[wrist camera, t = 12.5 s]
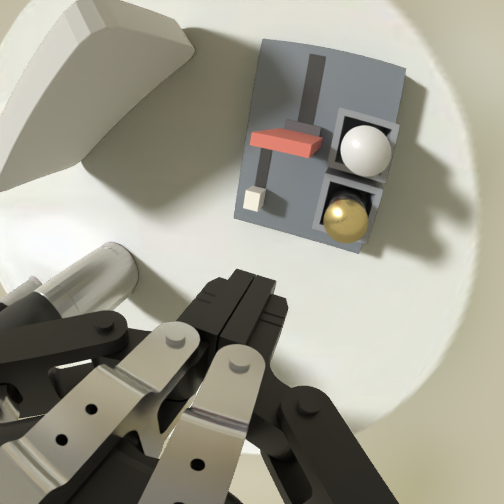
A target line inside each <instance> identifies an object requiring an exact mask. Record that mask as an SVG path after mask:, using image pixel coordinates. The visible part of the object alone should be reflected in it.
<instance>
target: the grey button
mask: <svg viewBox="0 0 504 504" xmlns="http://www.w3.org/2000/svg"><path fill="white" fill-rule="evenodd" d="M341 156H342V159H343V161H344V163H345V165H346V166H347V167H348V168H349V169H350V170H351V171H352V172H354V173H355V174H357V175H360V176H366V177H369V176H375V175H377V174H379V173H381V172H382V171H383V170H385V168H386V167H387V166H388V164H389V162H390V159H391V146H390V143H389V141H388V139H387V137H386V136H385V135H384V134H383V133H382V132H381V131H380V130H378V129H376V128H374V127H371V126H357V127H355V128H353V129H351V130H350V131H349V132H347V134H346V135H345V136H344V138H343V140H342V143H341Z"/></svg>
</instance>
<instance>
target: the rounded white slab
mask: <svg viewBox="0 0 504 504" xmlns="http://www.w3.org/2000/svg"><path fill="white" fill-rule="evenodd" d="M194 52H195V49H194V47H193V46H192V44H191V43H190V41H189V40H188V38H187V37H186V35H185V34H184V32H183V31H182V29H181V28H180V26H179V25H178V23H177V22H176V21H175V20H174V19H172V18H169V17H167V16H164V15H162V14H159V13H156V12H153V11H151V10H148V9H145V8H142V7H139V6H136V5H133V4H130V3H127V2H124V1H120V0H78V1H75V2H74V3H73V4H72V5H71V6H70V7H68V8H67V9H66V10H65V11H64V12H63V13H62V15H61V16H60V17H59V19H58V20H57V21H56V23H55V24H54V25H53V27H52V28H51V30H50V31H49V32H48V34H47V35H46V37H45V38H44V40H43V41H42V43H41V44H40V46H39V47H38V49H37V50H36V52H35V53H34V55H33V56H32V58H31V60H30V61H29V63H28V65H27V66H26V68H25V70H24V71H23V73H22V75H21V77H20V79H19V80H18V82H17V84H16V86H15V88H14V90H13V92H12V94H11V95H10V97H9V99H8V101H7V104H6V106H5V108H4V110H3V112H2V114H1V116H0V192H2V191H6V190H9V189H11V188H14V187H16V186H19V185H21V184H24V183H27V182H29V181H32V180H35V179H38V178H40V177H43V176H46V175H49V174H52V173H55V172H58V171H61V170H64V169H67V168H70V167H72V166H74V165H76V164H77V163H79V162H80V161H82V160H83V159H84V158H85V157H86V156H87V155H88V154H89V153H90V151H91V150H92V149H93V148H94V147H95V146H96V145H97V144H98V143H99V142H100V141H101V139H102V138H103V137H104V136H105V135H106V134H107V133H108V132H109V131H110V130H111V129H112V128H113V127H114V126H115V125H116V124H117V123H118V122H119V121H120V120H121V119H122V118H123V117H124V116H125V115H126V114H127V113H128V112H129V111H130V110H131V109H132V108H133V107H135V106H136V105H137V104H138V103H139V102H140V101H141V100H142V99H143V98H144V97H145V96H147V95H148V94H149V93H150V92H151V91H152V90H153V89H155V88H156V87H157V86H158V85H159V84H160V83H162V82H163V81H164V80H165V79H166V78H168V77H169V76H170V75H171V74H172V73H174V72H175V71H176V70H177V69H179V68H180V67H181V66H182V65H184V64H185V63H186V62H187V61H188V60H189V59H190V58H191V57H192V56H193V54H194Z"/></svg>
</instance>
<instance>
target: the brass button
mask: <svg viewBox="0 0 504 504" xmlns="http://www.w3.org/2000/svg"><path fill="white" fill-rule="evenodd" d="M367 227H368V216H367V213H366V209H365V202H364V198H363V196H362V195H361V194H360V193H359V192H358V191H357V190H355V189H353V188H348V187H345V188H341V189H338V190H337V191H336V192H334V194H333V195H332V197H331V199H330V202H329V206H328V208H327V210H326V212H325V215H324V228H325V230H326V232H327V234H328V235H329V236H330V237H331V238H332V239H334V240H335V241H337V242H340V243H353V242H356V241H358V240H359V239H360V238H362V237H363V235H364V234H365V232H366V230H367Z"/></svg>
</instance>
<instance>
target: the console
mask: <svg viewBox="0 0 504 504" xmlns="http://www.w3.org/2000/svg"><path fill="white" fill-rule="evenodd" d="M405 73H406V68H403V67H400V66H397V65H394V64H390V63H387V62H384V61H380V60H377V59H373V58H369V57H365V56H361V55H357V54H353V53H349V52H344V51H340V50H335V49H330V48H325V47H319V46H313V45H307V44H301V43H294V42H286V41H278V40H269V39H262V44H261V50H260V55H259V61H258V67H257V72H256V78H255V84H254V90H253V96H252V102H251V108H250V114H249V120H248V126H247V133H246V139H245V145H244V152H243V158H242V165H241V171H240V178H239V185H238V191H237V198H236V205H235V212H234V219H238V220H242V221H245V222H249V223H253V224H256V225H260V226H264V227H267V228H271V229H274V230H278V231H282V232H285V233H289V234H292V235H296V236H299V237H303V238H306V239H310V240H313V241H317V242H320V243H324V244H327V245H330V246H334V247H337V248H341V249H344V250H347V251H351V252H354V253H357V254H359V252H360V249H361V246H362V243H363V244H367V241H368V238H369V235H370V232H371V229H372V226H373V223H374V220H375V217H376V213H377V210H378V207H379V204H380V200H381V197H382V193H383V188H382V185H381V182H382V183H386V179H387V176H388V172H389V168H390V164H391V161H392V157H393V153H394V149H395V145H396V140H397V136H398V132H399V127H400V125H399V124H396V120H397V115H398V110H399V105H400V100H401V95H402V90H403V84H404V79H405ZM285 119H288V120H293V121H298V122H303V123H307V124H312V125H316V126H320V127H322V130H321V135H320V137H322V138H323V141H322V145H321V148H320V149H319V150H318V151H317V154H316V156H313V155H312V156H311V157H310V158H305V157H301V156H297V155H293V154H288V153H284V152H280V151H275V150H270V149H266V148H261V147H256V146H251V145H250V140H251V134H252V132H256V131H263V130H270V129H277V128H282V129H284V125H285ZM357 126H371V127H374V128H376V129H378V130H380V131H381V132H382V133H383V134H384V135H385V136H386V137H387V139H388V141H389V143H390V146H391V159H390V162H389V164H388V166H387V167H386V168H385V170H383V171H382V172H381V173H379V174H377V175H375V176H369V177H366V176H360V175H357V174H355V173H354V172H352V171H351V170H350V169H349V168H348V167H347V166H346V165H345V163H344V161H343V159H342V156H341V143H342V140H343V138H344V136H345V135H346V134H347V132H349V131H350V130H351V129H353V128H355V127H357ZM251 186H256V187H260V188H264V189H266V193H265V198H264V204H263V207H262V208H261V209H260V210H259V211H258V212H256V211H252V210H248V209H245V208H243V205H244V198H245V192H246V190H247V189H248V188H250V187H251ZM345 187H348V188H353V189H355V190H357V191H358V192H359V193H360V194H361V195H362V196H363V198H364V202H365V209H366V213H367V216H368V227H367V230H366V232H365V234H364V235H363V237H362V238H360V239H359V240H358V241H356V242H353V243H340V242H337V241H335V240H334V239H332V238H331V237H330V236H329V235H328V234H327V232H326V230H325V228H324V215H325V212H326V210H327V208H328V206H329V202H330V199H331V197H332V195H333V194H334V192H336V191H337V190H338V189H341V188H345Z"/></svg>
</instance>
